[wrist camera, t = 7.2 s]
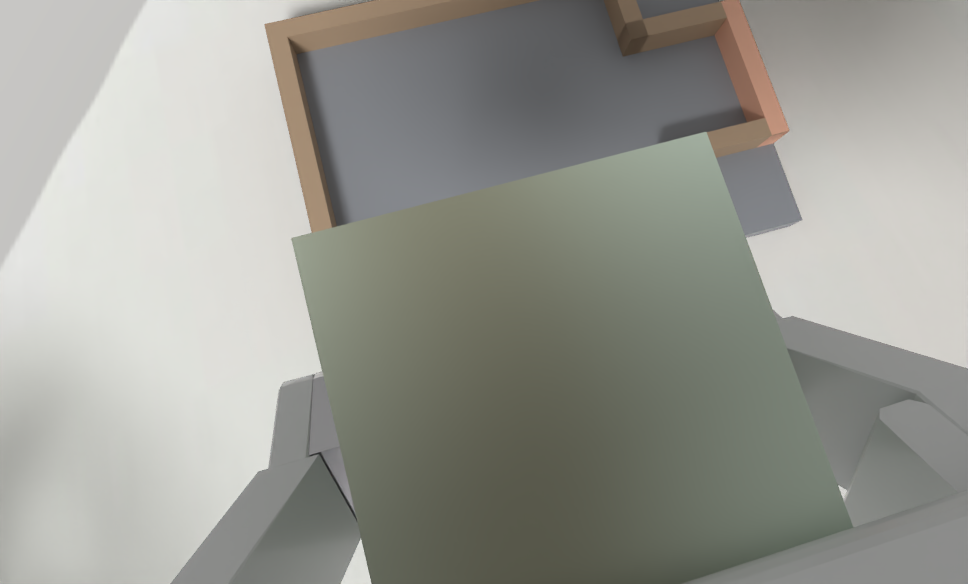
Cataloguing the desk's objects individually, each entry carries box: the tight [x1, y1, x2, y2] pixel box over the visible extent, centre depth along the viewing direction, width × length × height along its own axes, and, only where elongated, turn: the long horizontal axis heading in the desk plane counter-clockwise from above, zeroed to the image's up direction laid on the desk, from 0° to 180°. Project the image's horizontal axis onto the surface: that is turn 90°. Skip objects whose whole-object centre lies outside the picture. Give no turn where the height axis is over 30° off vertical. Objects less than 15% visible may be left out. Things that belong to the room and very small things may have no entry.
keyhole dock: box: [265, 0, 802, 238], centre depth 29 cm, size 25×17×3 cm
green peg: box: [291, 132, 853, 584], centre depth 9 cm, size 4×4×9 cm
